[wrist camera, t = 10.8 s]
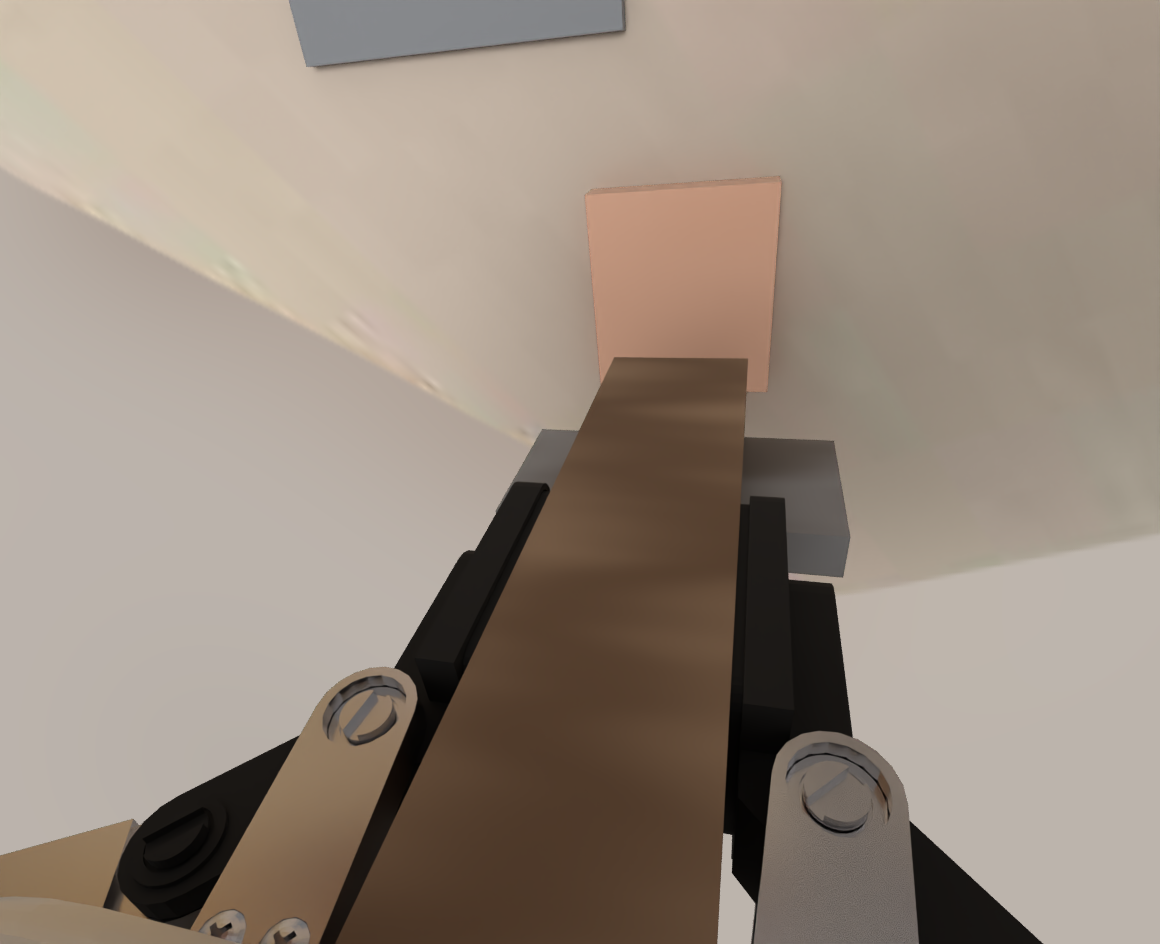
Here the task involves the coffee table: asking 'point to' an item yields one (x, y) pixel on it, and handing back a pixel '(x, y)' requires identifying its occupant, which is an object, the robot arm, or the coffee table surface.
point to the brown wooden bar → (603, 682)
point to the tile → (685, 271)
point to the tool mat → (440, 25)
